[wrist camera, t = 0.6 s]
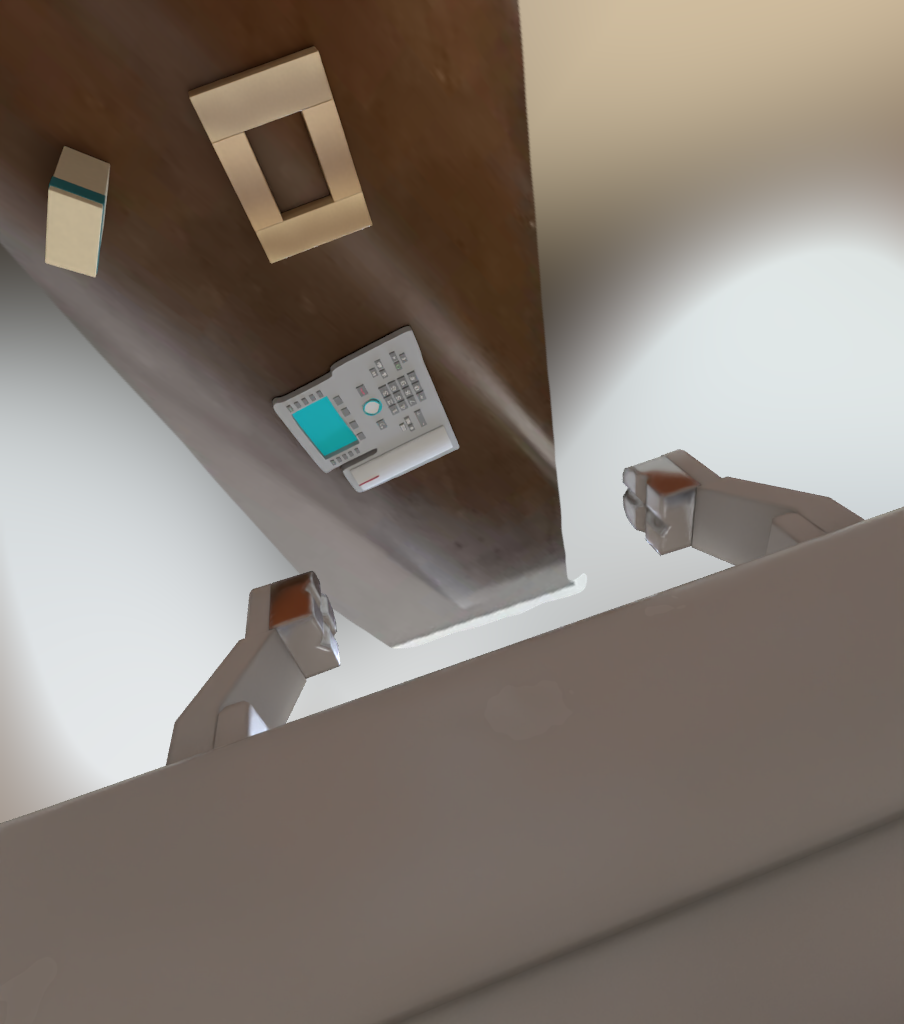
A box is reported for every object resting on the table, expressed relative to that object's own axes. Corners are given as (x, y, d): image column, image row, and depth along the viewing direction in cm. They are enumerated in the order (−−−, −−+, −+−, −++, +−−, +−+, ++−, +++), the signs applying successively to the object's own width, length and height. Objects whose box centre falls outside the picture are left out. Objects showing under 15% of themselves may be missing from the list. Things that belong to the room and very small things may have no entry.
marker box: (63, 144, 43) (47, 188, 37) (111, 163, 45) (103, 208, 39) (59, 212, 46) (43, 263, 40) (104, 228, 48) (96, 278, 42)
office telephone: (464, 453, 83) (349, 508, 83) (458, 442, 84) (346, 496, 85) (414, 335, 64) (267, 407, 64) (408, 323, 65) (264, 394, 66)
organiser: (188, 91, 43) (188, 97, 42) (314, 45, 44) (318, 50, 42) (268, 255, 54) (271, 264, 53) (368, 217, 55) (372, 225, 54)
